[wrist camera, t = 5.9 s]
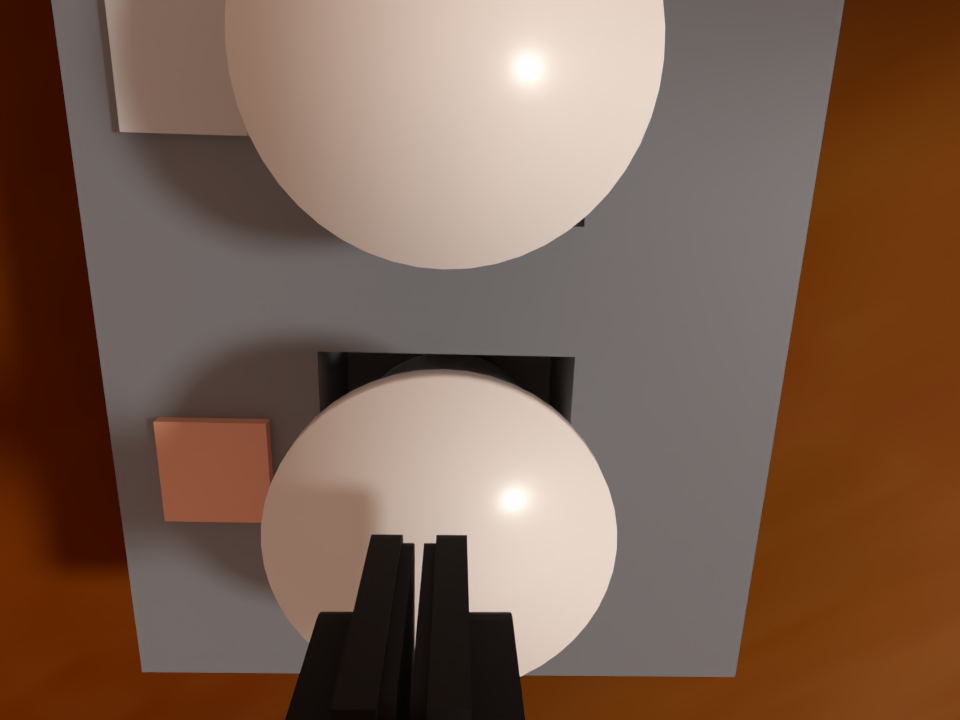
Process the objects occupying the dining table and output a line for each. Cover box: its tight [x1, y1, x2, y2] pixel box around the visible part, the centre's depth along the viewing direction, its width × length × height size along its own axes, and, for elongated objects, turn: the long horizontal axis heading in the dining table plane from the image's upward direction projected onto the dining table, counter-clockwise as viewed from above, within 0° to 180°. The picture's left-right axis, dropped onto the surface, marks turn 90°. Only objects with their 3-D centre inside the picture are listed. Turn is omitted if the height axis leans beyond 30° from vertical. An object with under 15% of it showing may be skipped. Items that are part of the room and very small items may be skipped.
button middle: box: [225, 0, 665, 270], centre depth 13 cm, size 7×7×5 cm
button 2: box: [261, 354, 617, 677], centre depth 16 cm, size 7×7×5 cm
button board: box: [51, 0, 845, 677], centre depth 16 cm, size 16×30×5 cm, turn 178°
